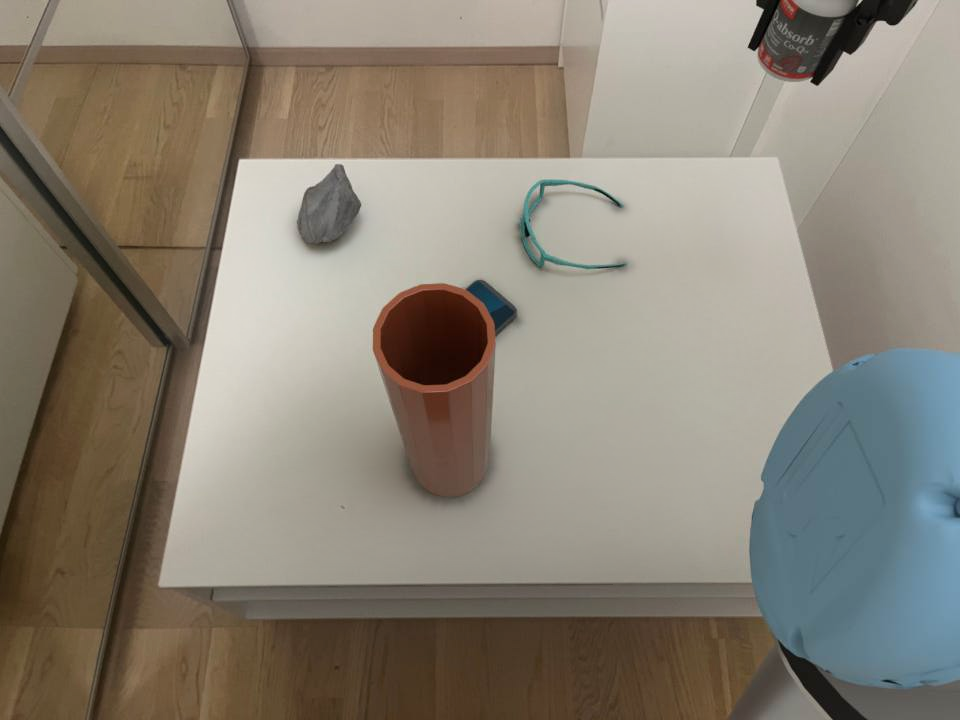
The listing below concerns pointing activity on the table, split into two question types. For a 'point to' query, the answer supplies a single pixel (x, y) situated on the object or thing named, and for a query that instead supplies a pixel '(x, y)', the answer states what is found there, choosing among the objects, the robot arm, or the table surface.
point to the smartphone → (494, 304)
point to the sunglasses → (527, 232)
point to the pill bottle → (801, 36)
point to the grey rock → (328, 208)
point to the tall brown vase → (439, 382)
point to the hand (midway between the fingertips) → (789, 58)
